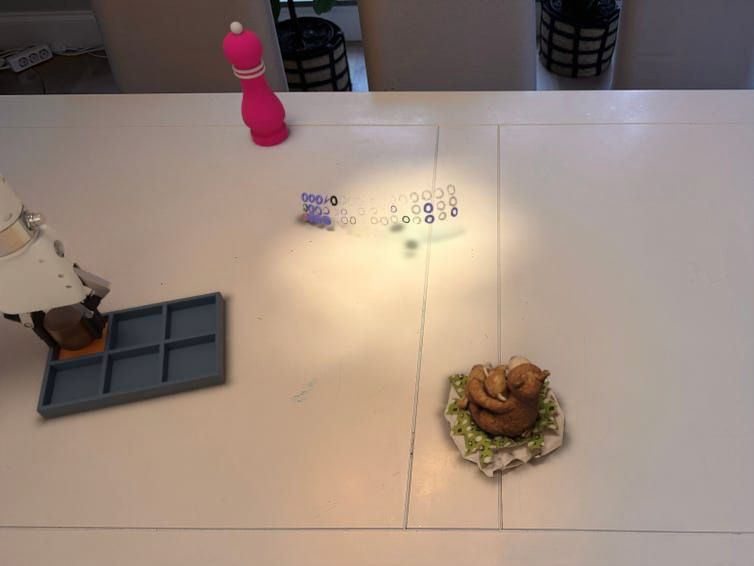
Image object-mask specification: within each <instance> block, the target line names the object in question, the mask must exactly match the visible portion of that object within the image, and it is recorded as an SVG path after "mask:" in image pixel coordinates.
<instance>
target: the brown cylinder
mask: <svg viewBox="0 0 754 566" xmlns="http://www.w3.org/2000/svg"><path fill="white" fill-rule="evenodd" d="M45 313H46V315H45V316H44V318H43V326H44V328H45V329H46V330H47V331H48V333H49V334H50V335H51V336H52V337H53V339H54V340H55V341H56V342H57V343H58V345H59V346H60V347H61V348H62V349H64V350H66V351H77V350H81V349H83V348H86V347H87V346H89V345H90V344H92V343H93V342H94V341H95V338H94V337H93V335H92V334H91V333H90V331H89V330H88V329H87V327H86V326H85V325H84V323H83V322H82V315H81V314H80V313H79V312H77V311H76V310H75V309H73V308H72V307H71V306H69V305H67V306H61V307H56V308H50V309H48V311H47V312H45Z"/></svg>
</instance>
